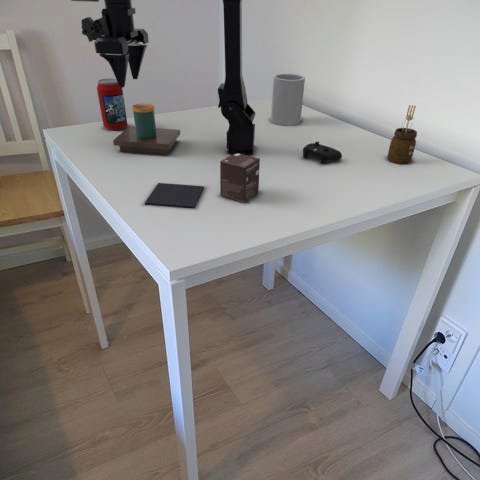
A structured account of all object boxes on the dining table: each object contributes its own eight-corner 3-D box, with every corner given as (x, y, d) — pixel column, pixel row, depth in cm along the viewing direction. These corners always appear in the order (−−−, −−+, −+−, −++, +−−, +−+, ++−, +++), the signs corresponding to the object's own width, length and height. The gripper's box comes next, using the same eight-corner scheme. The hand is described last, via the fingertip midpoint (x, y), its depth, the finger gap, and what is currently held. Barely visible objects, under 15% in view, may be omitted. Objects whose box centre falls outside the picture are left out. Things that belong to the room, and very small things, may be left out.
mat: (203, 188, 91) (203, 186, 91) (194, 208, 84) (193, 206, 83) (158, 184, 92) (158, 182, 92) (144, 204, 85) (144, 202, 84)
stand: (180, 141, 114) (180, 129, 112) (169, 156, 105) (168, 144, 103) (130, 137, 115) (128, 126, 114) (114, 152, 106) (112, 140, 104)
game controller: (344, 155, 106) (338, 142, 101) (333, 174, 106) (326, 162, 101) (312, 146, 111) (305, 132, 105) (302, 164, 111) (294, 151, 106)
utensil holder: (386, 162, 106) (398, 110, 98) (387, 154, 110) (399, 103, 102) (410, 165, 104) (425, 113, 97) (411, 157, 109) (425, 106, 101)
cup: (268, 117, 134) (271, 73, 126) (296, 116, 135) (301, 73, 127) (273, 125, 127) (276, 80, 119) (303, 125, 128) (308, 80, 120)
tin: (159, 133, 109) (156, 104, 105) (153, 140, 105) (150, 109, 101) (139, 132, 110) (136, 102, 105) (133, 138, 106) (129, 108, 101)
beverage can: (114, 132, 119) (106, 84, 111) (98, 127, 122) (90, 80, 114) (132, 127, 123) (126, 80, 115) (117, 122, 126) (110, 76, 118)
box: (244, 203, 86) (245, 167, 81) (219, 196, 88) (219, 160, 84) (259, 193, 90) (261, 158, 85) (235, 186, 92) (235, 152, 88)
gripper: (99, -2, 101) (111, 73, 111) (63, 4, 86) (80, 90, 96) (145, 0, 99) (152, 75, 109) (115, 6, 85) (127, 92, 95)
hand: (128, 83), depth 103 cm, fingers open, 9 cm apart
